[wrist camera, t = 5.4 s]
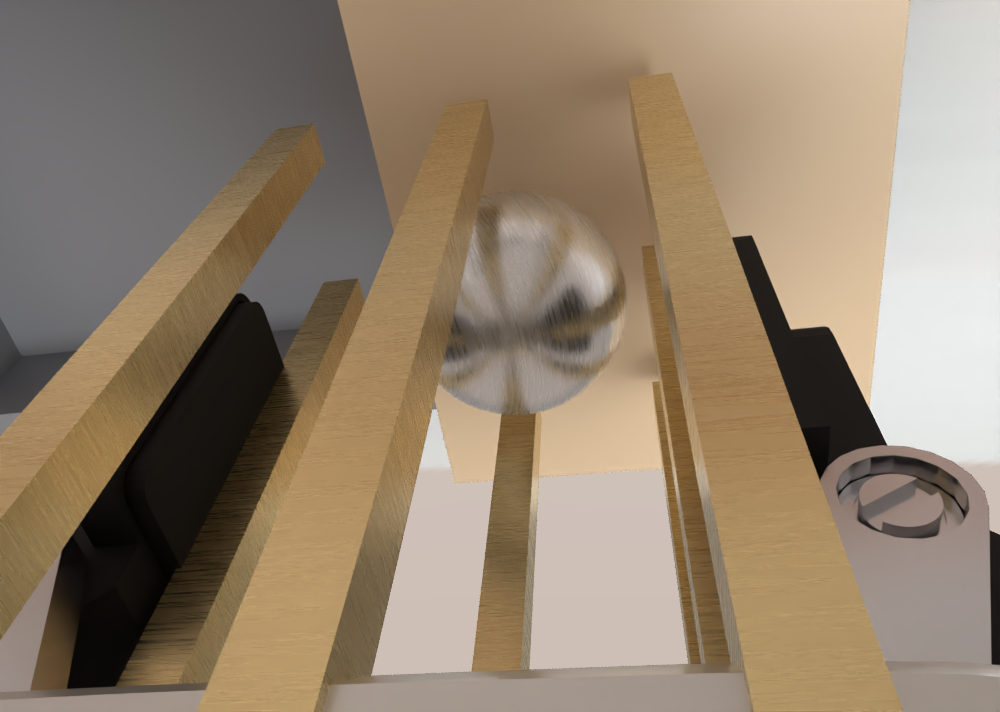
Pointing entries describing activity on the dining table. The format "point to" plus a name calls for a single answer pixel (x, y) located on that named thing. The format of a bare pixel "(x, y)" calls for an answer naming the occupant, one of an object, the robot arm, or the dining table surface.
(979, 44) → the dining table surface
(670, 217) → the tan slotted block
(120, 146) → the shaker tray
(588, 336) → the ball
